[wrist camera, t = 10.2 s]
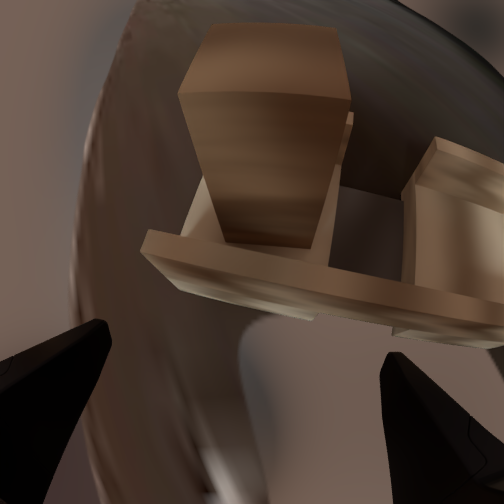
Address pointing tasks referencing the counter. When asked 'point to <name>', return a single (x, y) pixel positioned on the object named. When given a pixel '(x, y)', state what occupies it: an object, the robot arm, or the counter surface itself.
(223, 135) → the walnut block
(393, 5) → the counter surface
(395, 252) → the tunnel deck
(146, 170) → the counter surface
